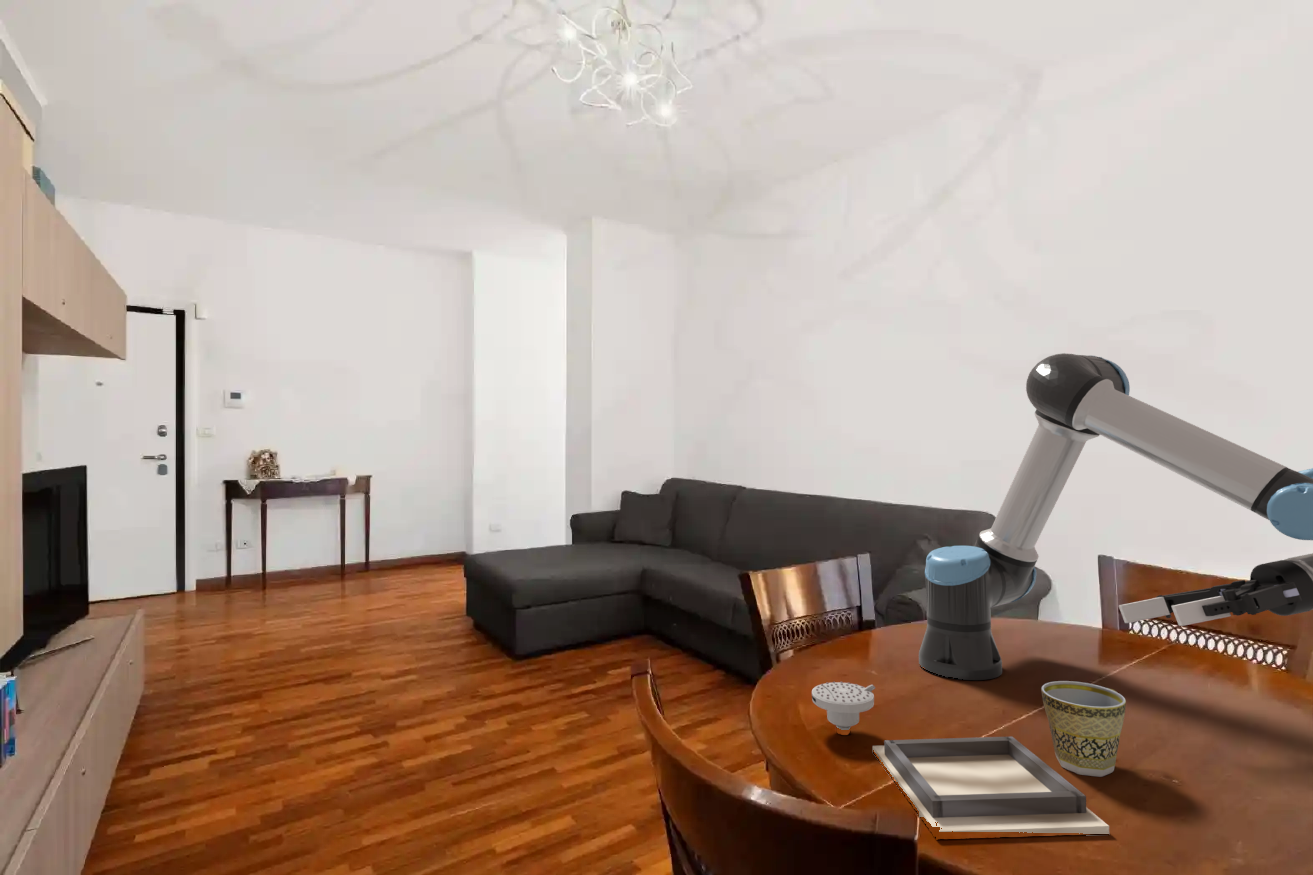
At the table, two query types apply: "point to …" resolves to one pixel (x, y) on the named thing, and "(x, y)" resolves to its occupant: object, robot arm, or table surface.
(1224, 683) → the table surface
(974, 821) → the square frame board
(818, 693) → the showerhead
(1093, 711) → the ceramic cup
